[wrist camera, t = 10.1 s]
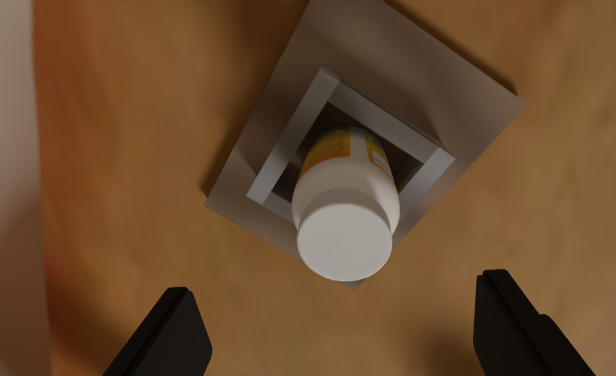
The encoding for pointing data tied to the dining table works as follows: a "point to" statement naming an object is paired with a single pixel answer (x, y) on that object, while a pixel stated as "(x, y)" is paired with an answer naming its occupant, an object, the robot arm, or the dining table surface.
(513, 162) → the dining table surface
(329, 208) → the supplement bottle
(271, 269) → the dining table surface
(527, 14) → the dining table surface
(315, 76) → the holder
